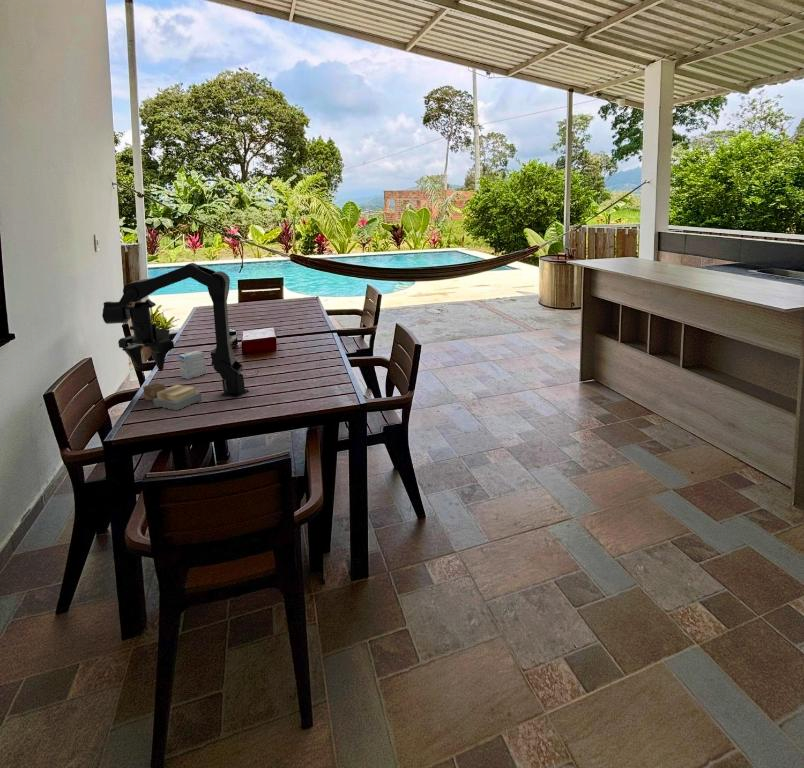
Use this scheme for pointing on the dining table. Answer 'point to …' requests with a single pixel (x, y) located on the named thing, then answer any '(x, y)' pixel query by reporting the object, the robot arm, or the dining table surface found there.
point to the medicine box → (192, 364)
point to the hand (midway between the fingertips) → (150, 369)
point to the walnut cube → (152, 390)
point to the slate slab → (178, 404)
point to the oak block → (176, 393)
